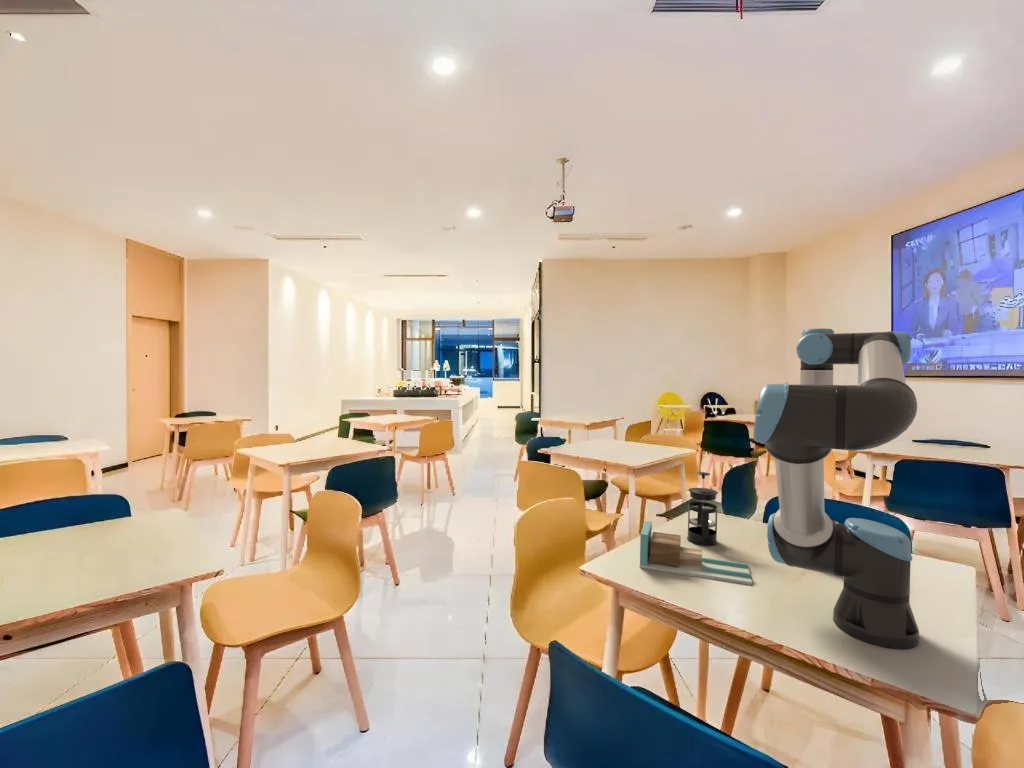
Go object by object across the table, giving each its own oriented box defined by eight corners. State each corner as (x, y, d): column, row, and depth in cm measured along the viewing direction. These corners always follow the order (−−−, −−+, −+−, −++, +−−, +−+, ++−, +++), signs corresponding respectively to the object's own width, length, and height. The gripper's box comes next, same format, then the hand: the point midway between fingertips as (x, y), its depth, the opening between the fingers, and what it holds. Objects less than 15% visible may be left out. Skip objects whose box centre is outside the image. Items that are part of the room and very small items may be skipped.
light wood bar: (701, 568, 135) (702, 554, 135) (657, 561, 140) (658, 548, 140) (701, 563, 139) (702, 549, 139) (658, 556, 143) (659, 543, 143)
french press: (685, 534, 166) (686, 468, 165) (713, 536, 164) (715, 470, 163) (689, 546, 154) (691, 476, 154) (720, 549, 152) (722, 477, 152)
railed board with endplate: (751, 585, 127) (752, 548, 127) (639, 567, 137) (640, 534, 137) (747, 566, 139) (747, 533, 139) (644, 551, 149) (645, 520, 149)
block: (679, 567, 135) (679, 545, 135) (650, 562, 138) (650, 541, 138) (680, 555, 144) (680, 535, 144) (652, 551, 147) (653, 531, 146)
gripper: (840, 387, 128) (838, 473, 129) (785, 386, 133) (783, 469, 134) (849, 388, 121) (846, 479, 122) (790, 386, 126) (788, 475, 127)
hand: (813, 474), depth 128 cm, fingers closed
